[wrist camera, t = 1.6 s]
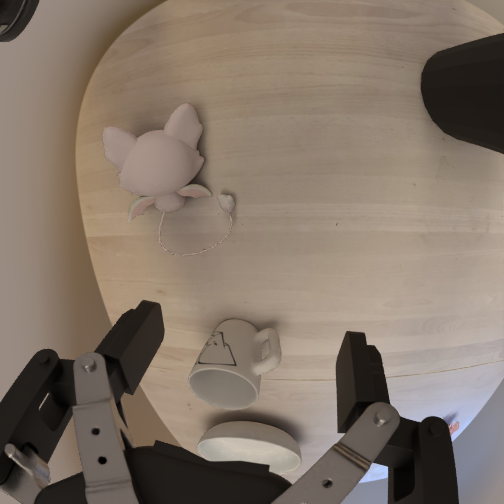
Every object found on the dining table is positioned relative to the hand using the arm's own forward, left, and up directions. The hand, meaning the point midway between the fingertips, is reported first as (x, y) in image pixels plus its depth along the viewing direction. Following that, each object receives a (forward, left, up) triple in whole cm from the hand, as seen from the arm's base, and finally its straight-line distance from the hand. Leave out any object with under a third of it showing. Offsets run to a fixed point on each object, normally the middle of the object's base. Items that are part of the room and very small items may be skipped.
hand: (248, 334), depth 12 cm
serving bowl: (+26, -42, -21) cm, 54 cm away
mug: (+8, -18, -21) cm, 29 cm away
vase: (+8, +22, -21) cm, 31 cm away
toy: (-10, -4, -21) cm, 24 cm away
